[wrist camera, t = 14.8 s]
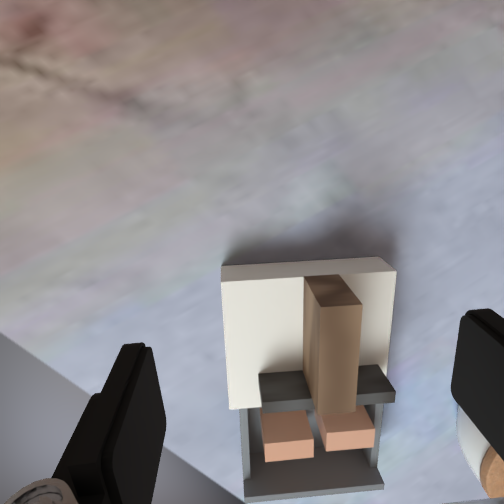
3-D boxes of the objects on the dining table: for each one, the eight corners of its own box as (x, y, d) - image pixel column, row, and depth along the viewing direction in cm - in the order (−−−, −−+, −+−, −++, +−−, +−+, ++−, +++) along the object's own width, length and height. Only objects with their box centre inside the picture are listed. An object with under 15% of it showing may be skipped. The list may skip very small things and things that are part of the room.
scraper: (386, 271, 33) (419, 300, 28) (377, 374, 37) (405, 419, 31) (254, 279, 33) (261, 311, 27) (258, 383, 36) (265, 431, 31)
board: (379, 256, 37) (396, 271, 33) (369, 372, 42) (384, 396, 38) (221, 265, 36) (220, 282, 32) (228, 383, 41) (229, 409, 37)
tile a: (375, 428, 37) (373, 447, 38) (358, 394, 42) (356, 411, 43) (326, 432, 37) (326, 451, 38) (314, 398, 42) (314, 415, 42)
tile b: (313, 439, 37) (313, 457, 38) (303, 403, 42) (303, 420, 42) (264, 443, 37) (265, 462, 37) (259, 407, 41) (260, 424, 42)
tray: (369, 372, 42) (392, 410, 36) (363, 443, 45) (383, 489, 39) (237, 382, 41) (240, 424, 35) (241, 454, 44) (244, 503, 39)
